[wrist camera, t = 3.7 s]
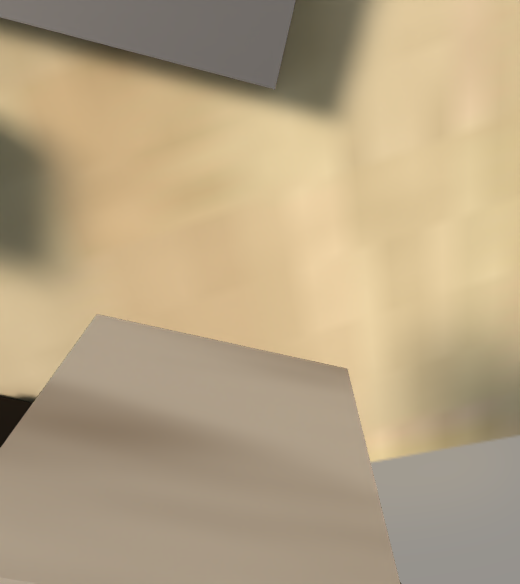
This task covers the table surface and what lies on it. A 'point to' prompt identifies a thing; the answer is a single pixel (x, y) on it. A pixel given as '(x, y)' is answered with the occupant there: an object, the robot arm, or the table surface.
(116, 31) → the base board
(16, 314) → the table surface
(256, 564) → the cream block
